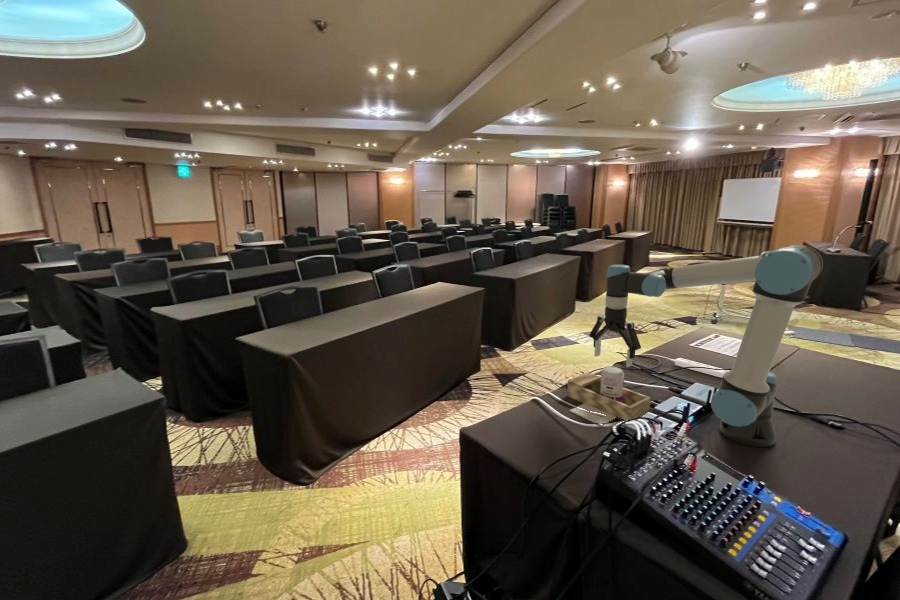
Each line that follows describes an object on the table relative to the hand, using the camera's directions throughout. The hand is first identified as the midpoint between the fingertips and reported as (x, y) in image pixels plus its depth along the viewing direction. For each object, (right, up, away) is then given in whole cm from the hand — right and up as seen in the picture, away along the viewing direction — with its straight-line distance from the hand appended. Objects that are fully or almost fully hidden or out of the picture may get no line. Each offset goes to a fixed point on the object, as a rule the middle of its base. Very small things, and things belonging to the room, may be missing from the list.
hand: (612, 360), depth 157 cm
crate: (0, -18, +6) cm, 19 cm away
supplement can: (+1, -18, +4) cm, 19 cm away
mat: (-9, -20, -2) cm, 22 cm away
